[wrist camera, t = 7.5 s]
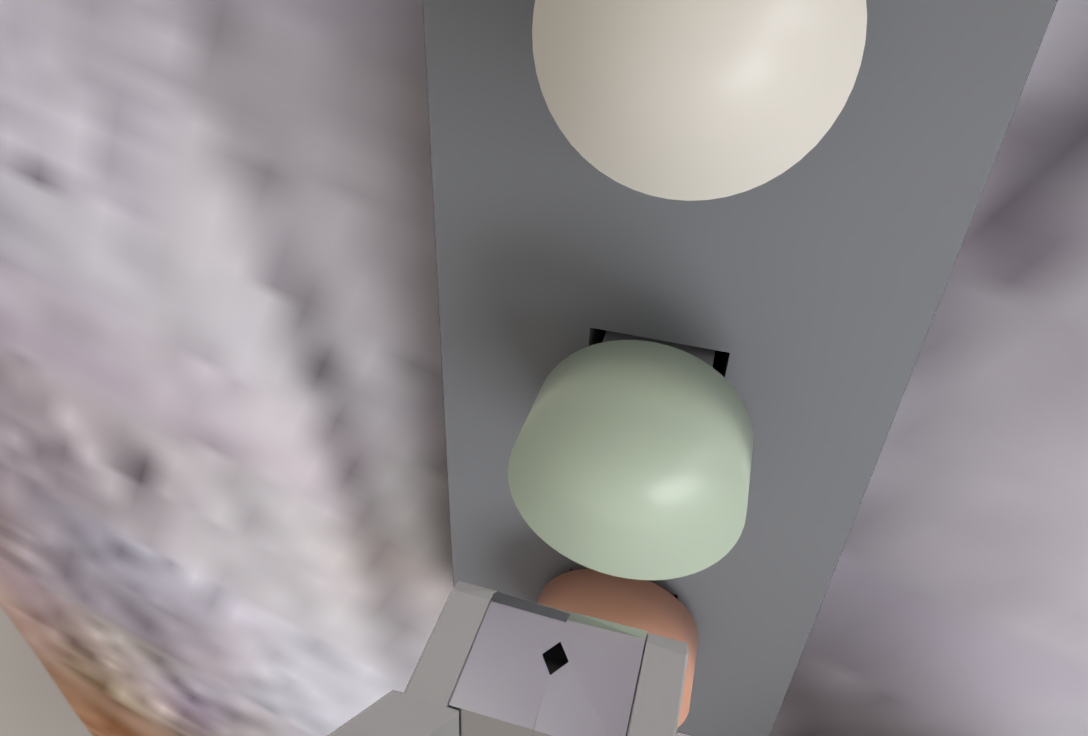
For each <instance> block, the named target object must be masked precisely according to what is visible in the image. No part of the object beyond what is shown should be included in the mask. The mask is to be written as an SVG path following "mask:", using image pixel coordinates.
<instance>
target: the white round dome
mask: <svg viewBox="0 0 1088 736" xmlns="http://www.w3.org/2000/svg"><path fill="white" fill-rule="evenodd" d="M866 27H867V5H866V0H535V5H534V12H533V24H532V42H533V55H534V62H535V68H536V74H537V77H538V81H539V84H540V88H541V92H542V94H543V97H544V99H545V101H546V104H547V106H548V109H549V111H550V113H551V115H552V116H553V118H554V120H555V122H556V124H557V125H558V127H559V129H560V130H561V131H562V133H563V134H564V136H565V137H566V138H567V140H568V141H569V142H570V144H571V145H572V146H573V147H574V148H575V149H576V150H577V151H578V152H579V153H580V155H581V156H582V157H583V158H584V159H585V160H587V161H588V162H589V163H590V164H591V165H593V166H594V167H595V168H596V169H597V170H599V171H600V172H602V173H603V174H605V175H606V176H608V177H609V178H611V179H613V180H614V181H616V182H618V183H620V184H622V185H624V186H626V187H628V188H630V189H633V190H636V191H639V192H641V193H644V194H647V195H651V196H655V197H660V198H665V199H672V200H684V201H697V200H711V199H717V198H723V197H728V196H732V195H735V194H739V193H742V192H746V191H748V190H750V189H753V188H755V187H758V186H760V185H762V184H765V183H766V182H768V181H770V180H772V179H773V178H775V177H777V176H779V175H780V174H782V173H784V172H785V171H786V170H788V169H789V168H790V167H792V166H793V165H794V164H796V163H797V162H799V161H800V160H801V159H802V158H803V157H804V156H805V155H806V154H807V153H808V152H809V151H811V150H812V149H813V148H814V147H815V146H816V145H817V144H818V142H819V141H820V140H821V139H822V138H823V136H824V135H825V134H826V133H827V132H828V130H829V129H830V128H831V126H832V125H833V123H834V122H835V120H836V119H837V117H838V116H839V114H840V112H841V111H842V109H843V108H844V105H845V103H846V101H847V99H848V97H849V95H850V93H851V91H852V89H853V87H854V84H855V81H856V78H857V75H858V72H859V69H860V66H861V61H862V56H863V51H864V46H865V41H866Z"/></svg>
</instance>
